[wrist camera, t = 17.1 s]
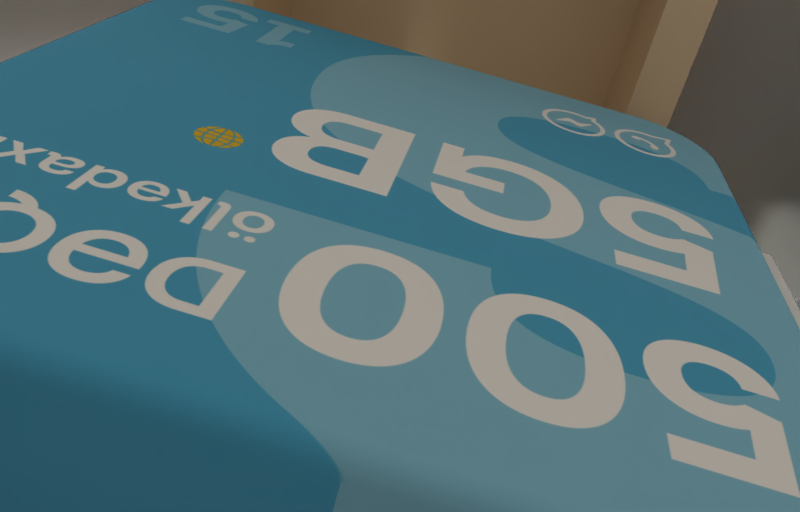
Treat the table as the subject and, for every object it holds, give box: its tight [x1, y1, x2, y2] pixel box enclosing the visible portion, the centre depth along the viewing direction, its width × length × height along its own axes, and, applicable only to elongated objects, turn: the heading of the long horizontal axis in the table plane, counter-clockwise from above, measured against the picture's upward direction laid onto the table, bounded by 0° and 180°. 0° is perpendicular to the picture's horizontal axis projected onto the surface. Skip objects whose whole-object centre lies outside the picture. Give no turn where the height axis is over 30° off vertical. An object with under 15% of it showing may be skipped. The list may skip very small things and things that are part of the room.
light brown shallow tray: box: [226, 0, 718, 128], centre depth 20 cm, size 11×17×4 cm, turn 169°
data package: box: [0, 0, 800, 512], centre depth 12 cm, size 12×4×12 cm, turn 77°
